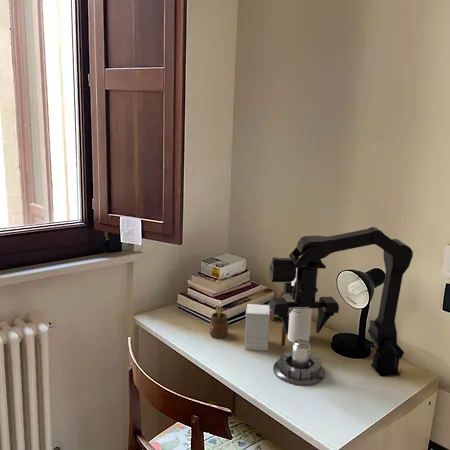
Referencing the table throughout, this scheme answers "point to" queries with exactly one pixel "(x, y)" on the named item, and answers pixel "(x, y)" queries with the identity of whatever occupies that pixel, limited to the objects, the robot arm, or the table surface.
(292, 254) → the robot arm
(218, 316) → the utensil holder
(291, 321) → the cylindrical container
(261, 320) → the supplement box
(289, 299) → the magnifying glass
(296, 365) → the cylinder
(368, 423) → the table surface
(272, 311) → the geometric puzzle
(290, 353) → the ring collar
